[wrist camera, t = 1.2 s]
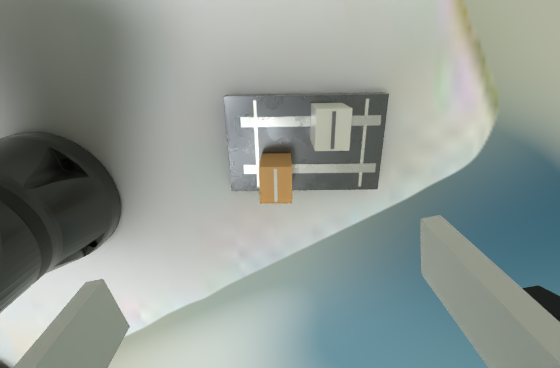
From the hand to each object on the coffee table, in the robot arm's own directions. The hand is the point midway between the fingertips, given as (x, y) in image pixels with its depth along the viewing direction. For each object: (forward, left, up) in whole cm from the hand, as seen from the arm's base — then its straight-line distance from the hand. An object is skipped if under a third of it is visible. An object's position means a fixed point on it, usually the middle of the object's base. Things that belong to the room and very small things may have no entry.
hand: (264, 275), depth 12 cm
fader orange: (0, -2, -19) cm, 19 cm away
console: (+3, 0, -21) cm, 21 cm away
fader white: (+5, +3, -19) cm, 20 cm away
